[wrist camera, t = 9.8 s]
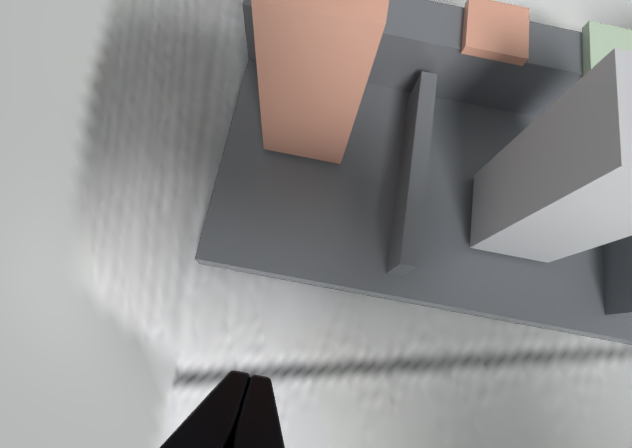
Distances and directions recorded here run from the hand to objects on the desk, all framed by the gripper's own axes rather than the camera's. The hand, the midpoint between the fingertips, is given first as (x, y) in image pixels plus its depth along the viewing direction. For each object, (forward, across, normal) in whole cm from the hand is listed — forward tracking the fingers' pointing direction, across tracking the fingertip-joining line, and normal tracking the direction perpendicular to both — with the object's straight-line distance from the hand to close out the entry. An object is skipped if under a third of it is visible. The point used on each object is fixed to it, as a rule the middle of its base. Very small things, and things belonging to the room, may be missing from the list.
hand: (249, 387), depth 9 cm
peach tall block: (+16, 0, -2) cm, 16 cm away
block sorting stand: (+16, -10, 0) cm, 19 cm away
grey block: (+14, -11, 0) cm, 17 cm away
